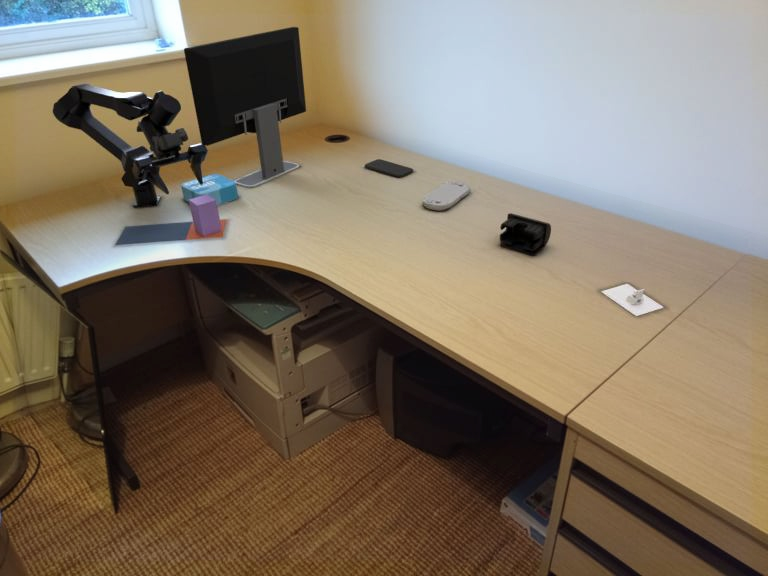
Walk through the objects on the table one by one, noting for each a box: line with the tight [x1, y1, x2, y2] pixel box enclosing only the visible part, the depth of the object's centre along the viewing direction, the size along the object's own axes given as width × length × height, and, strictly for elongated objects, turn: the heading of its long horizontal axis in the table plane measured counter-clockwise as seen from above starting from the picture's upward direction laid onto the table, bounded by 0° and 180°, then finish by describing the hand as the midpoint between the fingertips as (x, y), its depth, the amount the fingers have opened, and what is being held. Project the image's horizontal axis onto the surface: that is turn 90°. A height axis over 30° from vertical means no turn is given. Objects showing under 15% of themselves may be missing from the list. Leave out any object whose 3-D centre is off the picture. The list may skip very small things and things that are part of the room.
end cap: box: [499, 212, 552, 257], centre depth 138 cm, size 10×7×7 cm
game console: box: [422, 180, 471, 212], centre depth 163 cm, size 18×2×8 cm
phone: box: [364, 158, 414, 178], centre depth 184 cm, size 7×1×15 cm
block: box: [188, 194, 222, 237], centre depth 148 cm, size 5×5×8 cm
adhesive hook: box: [625, 288, 645, 305], centre depth 117 cm, size 3×3×3 cm
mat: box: [114, 218, 228, 246], centre depth 150 cm, size 26×10×1 cm, turn 97°
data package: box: [180, 173, 239, 206], centre depth 167 cm, size 12×4×12 cm
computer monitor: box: [183, 26, 307, 188], centre depth 173 cm, size 41×8×40 cm, turn 144°
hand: (185, 188), depth 150 cm, fingers open, 9 cm apart
